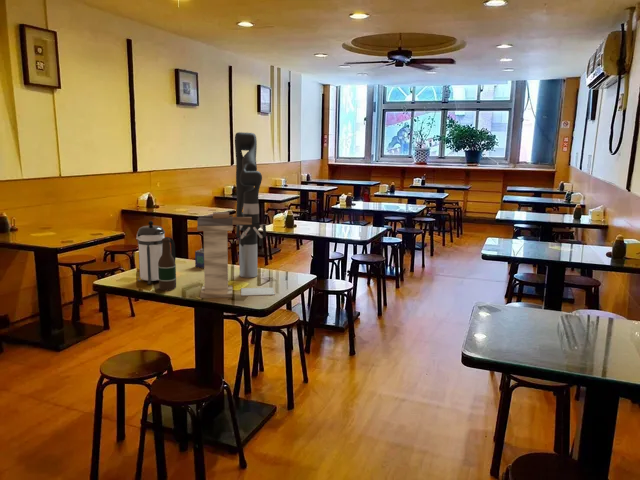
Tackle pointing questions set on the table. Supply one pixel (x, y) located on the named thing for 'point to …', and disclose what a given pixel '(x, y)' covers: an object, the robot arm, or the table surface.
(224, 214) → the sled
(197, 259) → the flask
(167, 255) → the beer bottle
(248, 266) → the robot arm
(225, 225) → the pedestal
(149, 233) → the coffee press
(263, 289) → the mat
